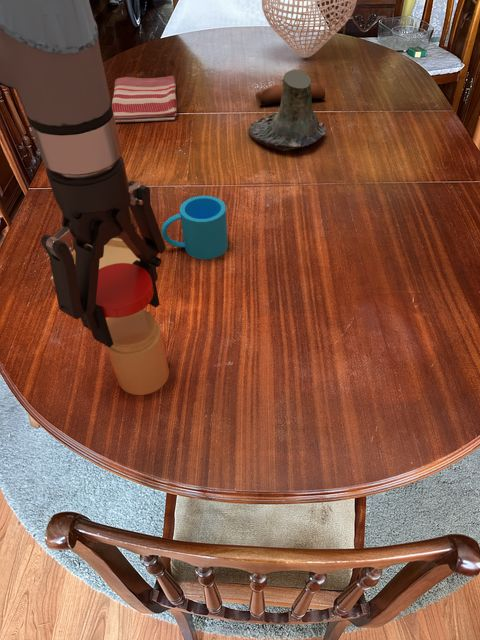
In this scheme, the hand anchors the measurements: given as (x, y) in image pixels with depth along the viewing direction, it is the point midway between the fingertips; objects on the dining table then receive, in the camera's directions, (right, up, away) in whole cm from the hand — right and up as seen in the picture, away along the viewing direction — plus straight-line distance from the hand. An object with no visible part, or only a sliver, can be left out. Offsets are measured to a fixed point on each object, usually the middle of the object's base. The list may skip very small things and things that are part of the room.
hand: (128, 320), depth 67 cm
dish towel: (-14, +62, +69) cm, 94 cm away
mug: (+5, +15, +29) cm, 33 cm away
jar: (0, -8, +9) cm, 11 cm away
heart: (+31, +88, +92) cm, 131 cm away
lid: (0, +4, -5) cm, 6 cm away
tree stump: (+24, +48, +58) cm, 79 cm away
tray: (-11, +11, +24) cm, 29 cm away
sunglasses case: (+25, +65, +72) cm, 100 cm away
